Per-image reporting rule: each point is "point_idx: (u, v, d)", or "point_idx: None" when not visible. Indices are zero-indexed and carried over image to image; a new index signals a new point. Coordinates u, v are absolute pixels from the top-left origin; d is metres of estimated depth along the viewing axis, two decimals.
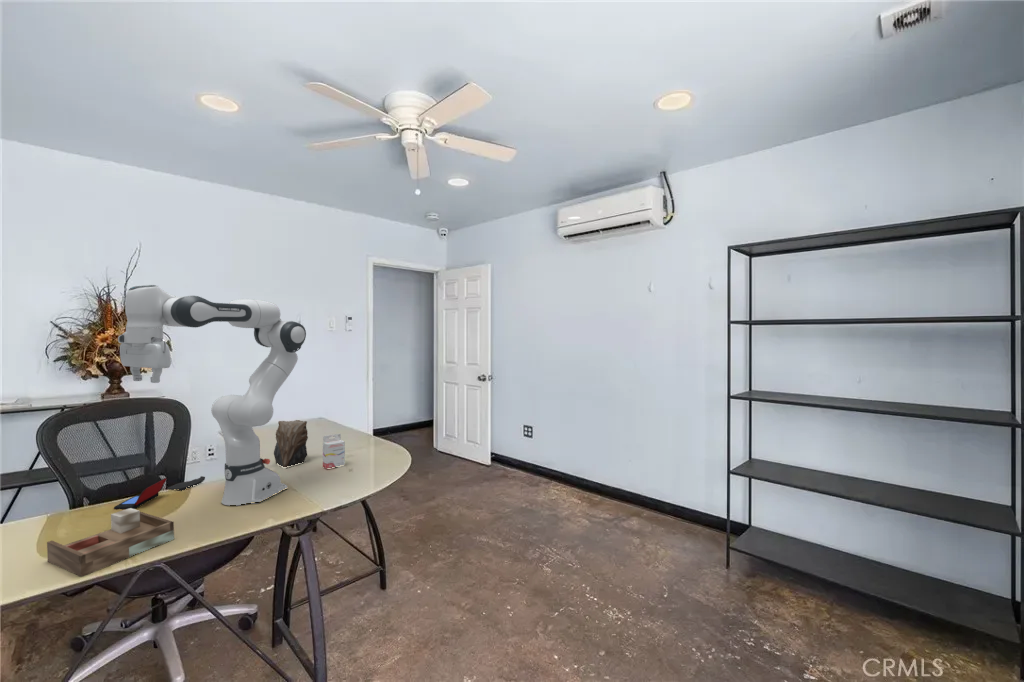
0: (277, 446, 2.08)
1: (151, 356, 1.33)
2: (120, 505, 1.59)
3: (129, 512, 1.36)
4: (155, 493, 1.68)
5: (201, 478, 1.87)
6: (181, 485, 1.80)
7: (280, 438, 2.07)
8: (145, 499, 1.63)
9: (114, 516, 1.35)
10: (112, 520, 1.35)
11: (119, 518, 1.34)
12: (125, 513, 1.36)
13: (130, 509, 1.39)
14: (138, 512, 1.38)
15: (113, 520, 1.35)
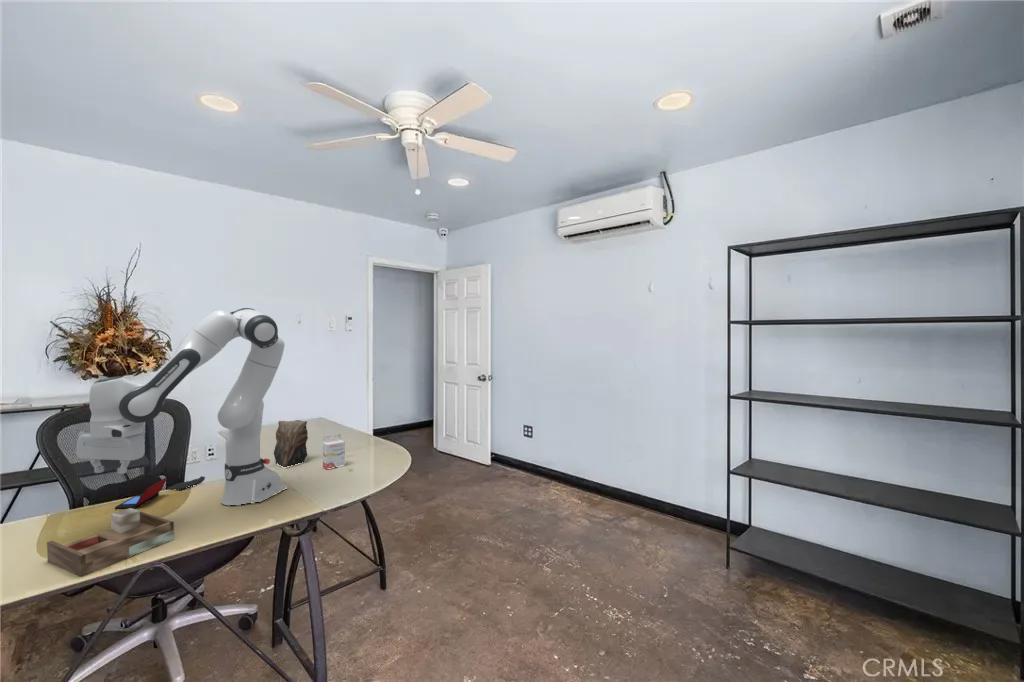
0: (277, 446, 2.08)
1: None
2: (121, 505, 1.59)
3: (129, 512, 1.36)
4: (155, 493, 1.68)
5: (201, 478, 1.87)
6: (181, 485, 1.80)
7: (280, 438, 2.07)
8: (146, 499, 1.63)
9: (114, 516, 1.35)
10: (112, 520, 1.35)
11: (119, 518, 1.34)
12: (125, 513, 1.36)
13: (130, 509, 1.39)
14: (138, 512, 1.38)
15: (113, 520, 1.35)
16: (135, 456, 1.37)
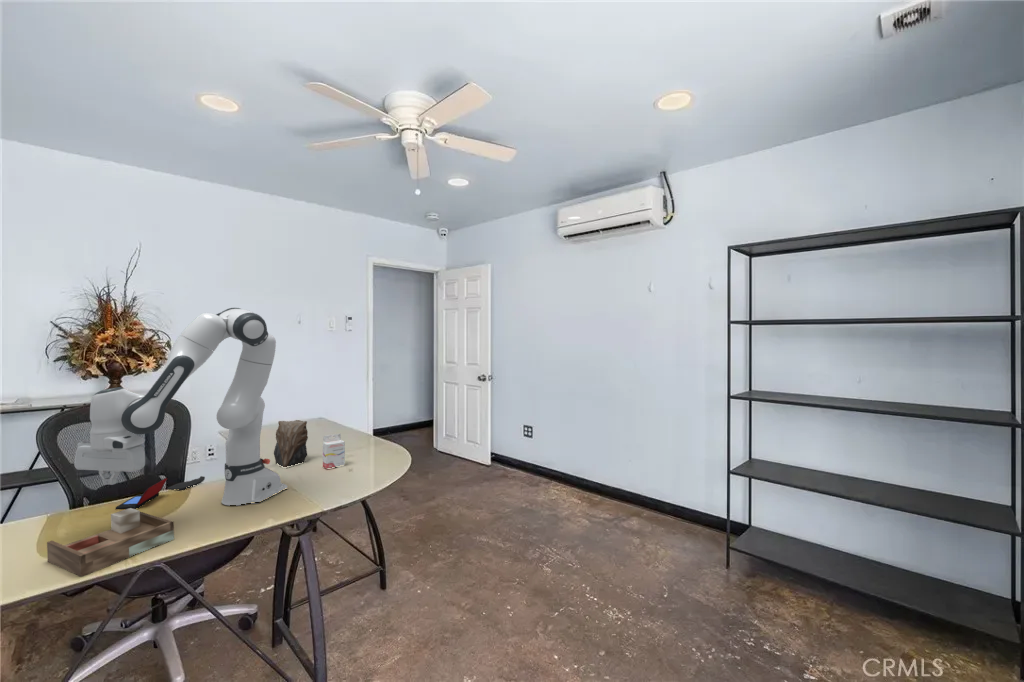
0: (277, 446, 2.08)
1: None
2: (122, 505, 1.59)
3: (129, 512, 1.36)
4: (156, 493, 1.68)
5: (201, 478, 1.87)
6: (181, 485, 1.80)
7: (280, 438, 2.07)
8: (147, 499, 1.63)
9: (114, 516, 1.35)
10: (112, 520, 1.35)
11: (119, 518, 1.34)
12: (125, 513, 1.36)
13: (130, 509, 1.39)
14: (138, 512, 1.38)
15: (113, 520, 1.35)
16: (136, 467, 1.37)
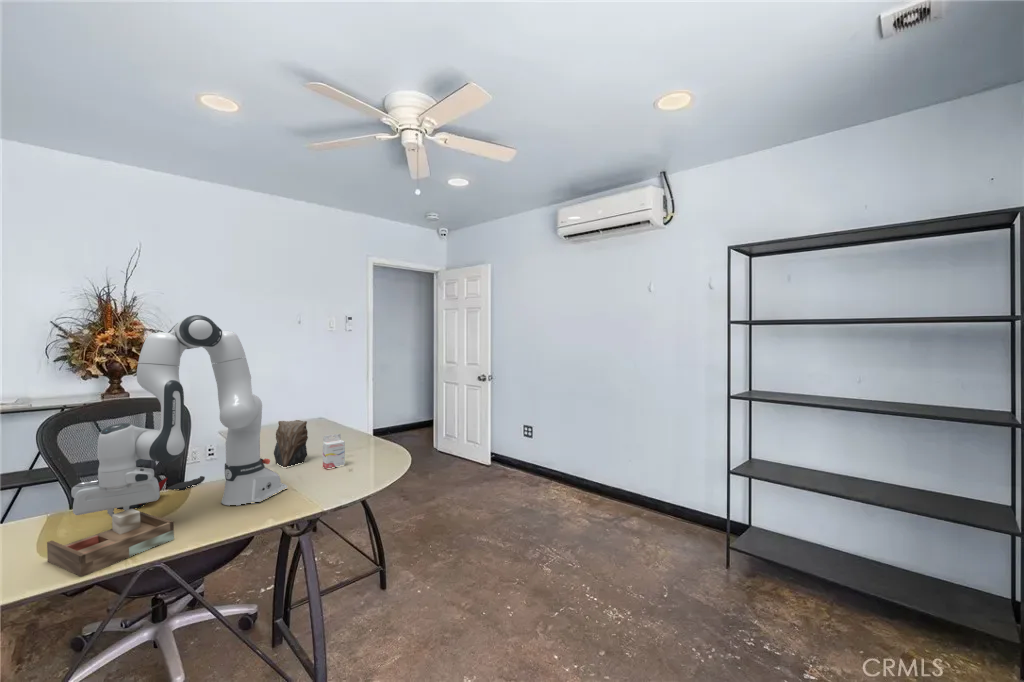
0: (277, 446, 2.08)
1: None
2: None
3: (129, 513, 1.36)
4: None
5: (201, 478, 1.87)
6: (181, 485, 1.80)
7: (280, 438, 2.07)
8: None
9: (115, 517, 1.34)
10: (113, 520, 1.35)
11: (119, 519, 1.33)
12: (125, 514, 1.35)
13: (131, 510, 1.38)
14: (138, 513, 1.37)
15: (114, 520, 1.34)
16: (159, 496, 1.43)
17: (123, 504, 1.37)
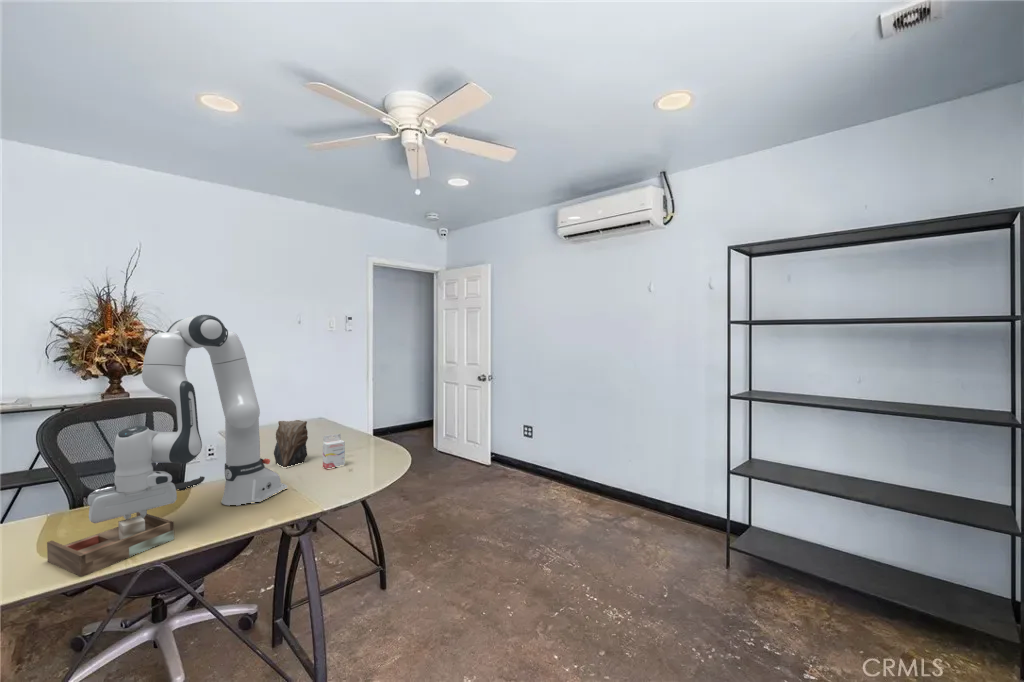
0: (277, 446, 2.08)
1: None
2: None
3: (134, 521, 1.30)
4: None
5: (201, 478, 1.87)
6: (181, 485, 1.80)
7: (280, 438, 2.07)
8: None
9: (120, 524, 1.29)
10: (119, 528, 1.30)
11: (122, 527, 1.28)
12: (130, 522, 1.30)
13: (138, 517, 1.33)
14: (143, 521, 1.31)
15: (119, 528, 1.30)
16: (176, 498, 1.41)
17: (142, 508, 1.34)
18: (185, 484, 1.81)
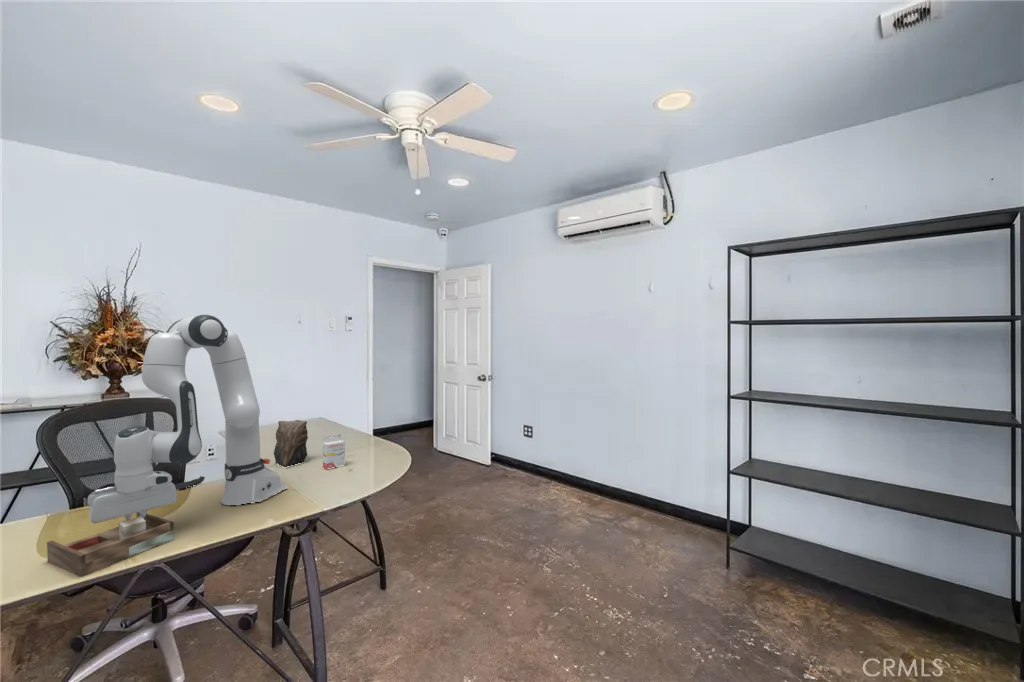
0: (277, 446, 2.08)
1: None
2: None
3: (135, 522, 1.30)
4: None
5: (201, 478, 1.87)
6: (181, 485, 1.80)
7: (280, 438, 2.07)
8: None
9: (120, 525, 1.29)
10: (119, 529, 1.29)
11: (123, 528, 1.27)
12: (130, 523, 1.29)
13: (139, 518, 1.32)
14: (144, 522, 1.31)
15: (120, 529, 1.29)
16: (176, 498, 1.41)
17: (142, 508, 1.34)
18: (185, 484, 1.81)
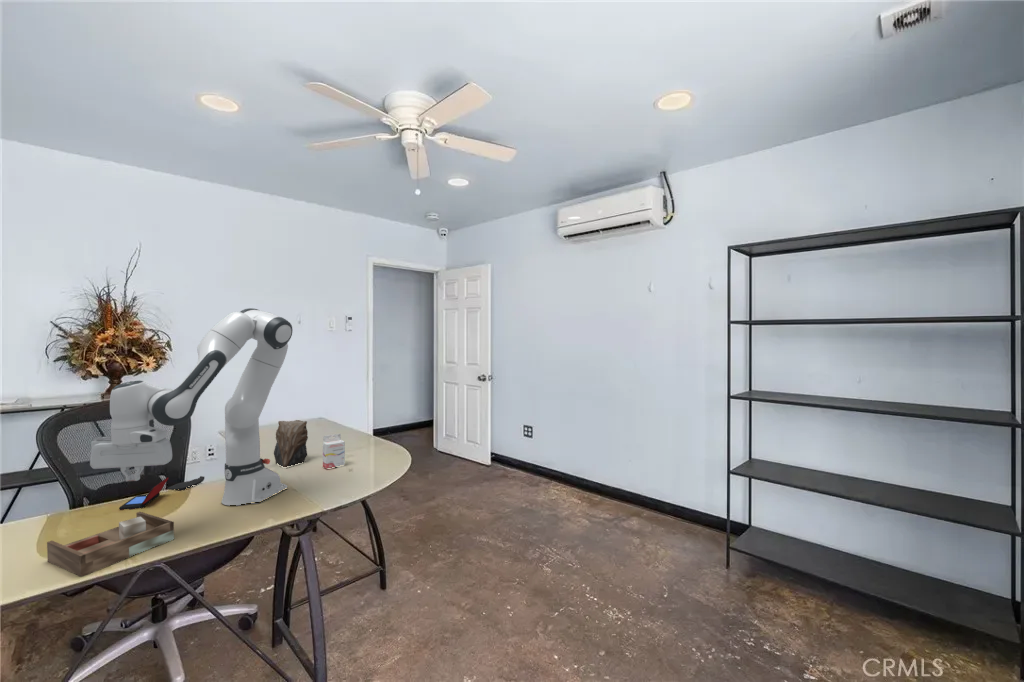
0: (277, 446, 2.08)
1: None
2: (125, 505, 1.59)
3: (135, 522, 1.30)
4: (157, 492, 1.69)
5: (201, 478, 1.87)
6: (181, 485, 1.80)
7: (280, 438, 2.07)
8: (150, 498, 1.64)
9: (120, 525, 1.29)
10: (119, 529, 1.29)
11: (123, 528, 1.27)
12: (130, 523, 1.29)
13: (139, 518, 1.32)
14: (144, 522, 1.31)
15: (120, 529, 1.29)
16: (166, 460, 1.35)
17: (133, 464, 1.33)
18: (185, 484, 1.81)
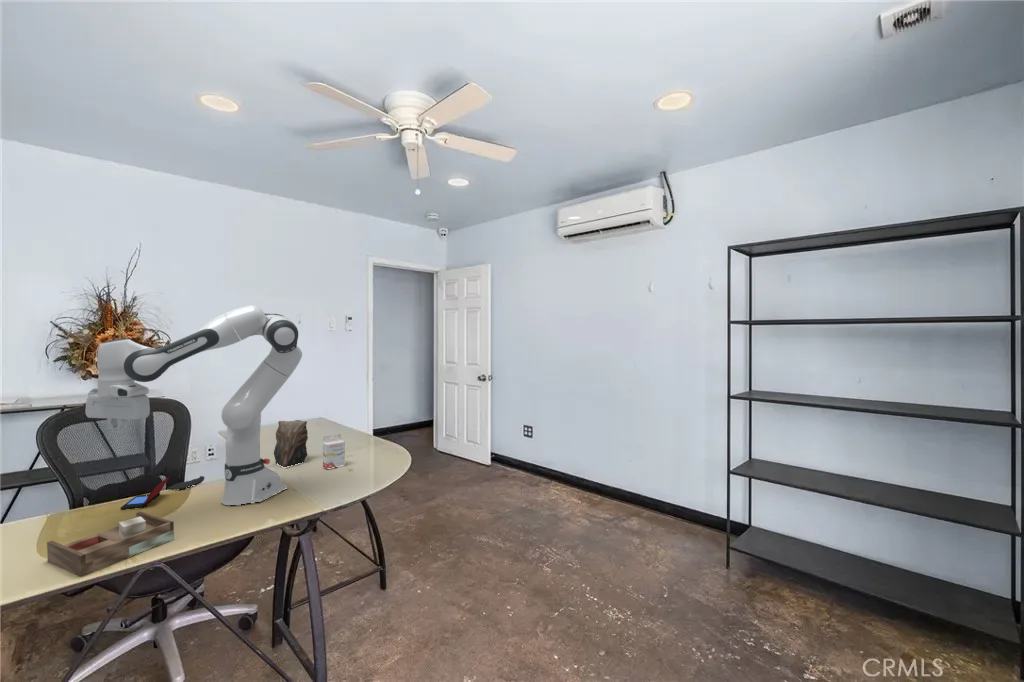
0: (277, 446, 2.08)
1: None
2: (126, 505, 1.59)
3: (135, 522, 1.30)
4: (158, 492, 1.69)
5: (201, 478, 1.87)
6: (181, 485, 1.80)
7: (280, 438, 2.07)
8: (151, 498, 1.64)
9: (120, 525, 1.29)
10: (119, 529, 1.29)
11: (123, 528, 1.27)
12: (130, 523, 1.29)
13: (139, 518, 1.32)
14: (144, 522, 1.31)
15: (120, 529, 1.29)
16: (140, 415, 1.40)
17: (115, 416, 1.41)
18: (185, 484, 1.81)
